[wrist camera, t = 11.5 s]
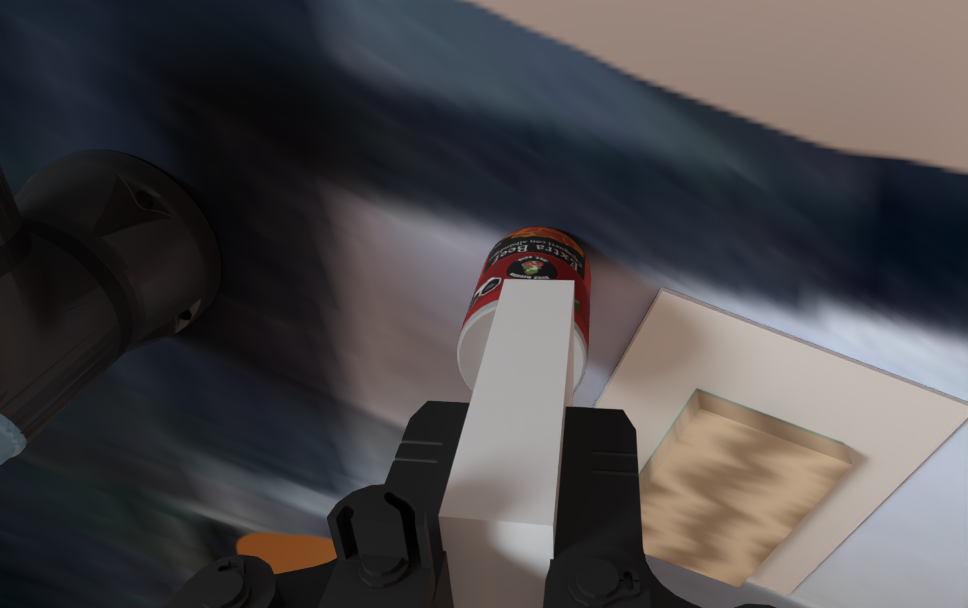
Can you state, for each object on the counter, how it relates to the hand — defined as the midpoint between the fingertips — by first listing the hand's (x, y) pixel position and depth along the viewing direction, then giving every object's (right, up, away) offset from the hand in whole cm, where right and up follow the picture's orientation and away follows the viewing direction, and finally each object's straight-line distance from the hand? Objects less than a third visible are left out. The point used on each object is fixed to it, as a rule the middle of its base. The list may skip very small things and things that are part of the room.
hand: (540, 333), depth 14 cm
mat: (+19, -12, +38) cm, 44 cm away
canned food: (+3, +3, +33) cm, 33 cm away
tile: (+20, -8, +34) cm, 40 cm away
